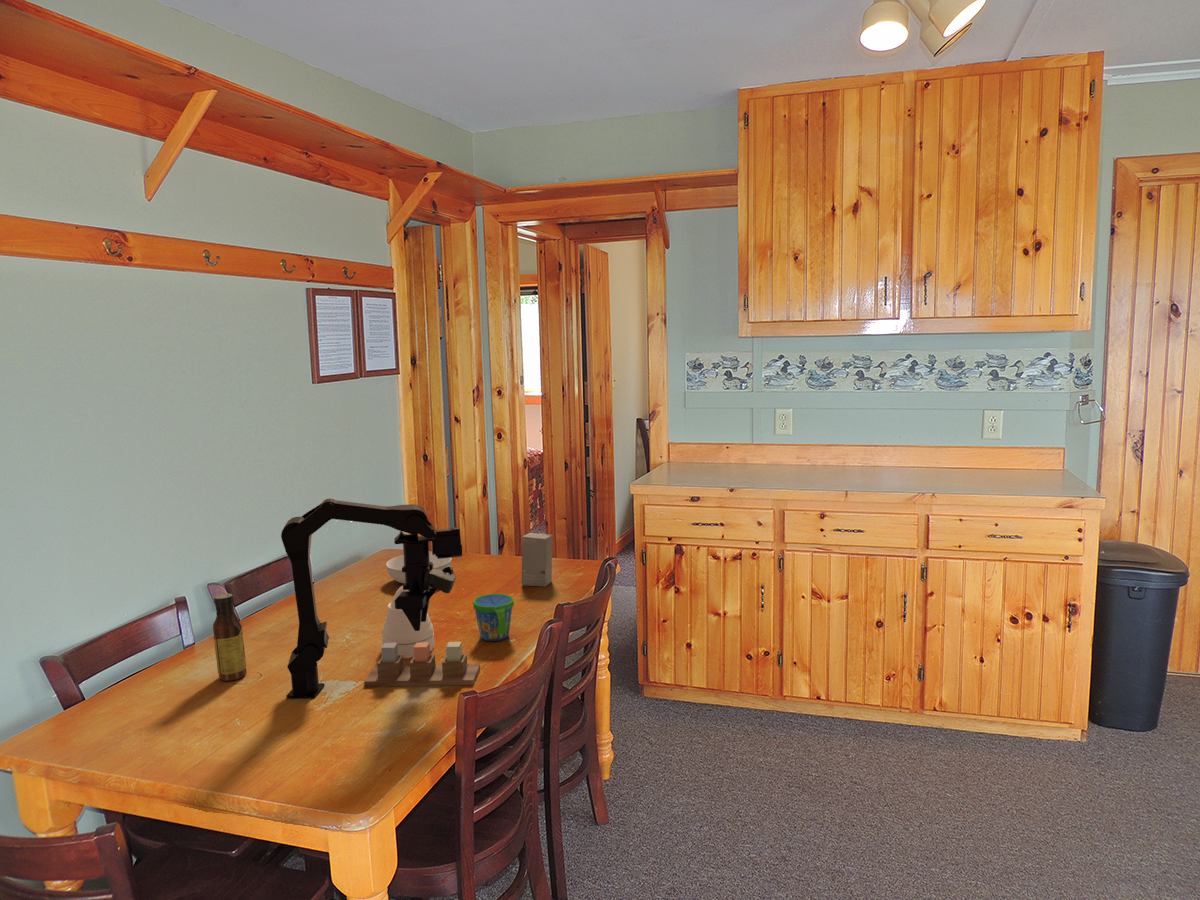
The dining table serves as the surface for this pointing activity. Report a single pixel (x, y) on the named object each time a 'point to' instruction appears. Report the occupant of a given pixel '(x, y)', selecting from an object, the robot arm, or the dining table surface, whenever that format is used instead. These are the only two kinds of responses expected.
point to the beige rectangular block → (454, 651)
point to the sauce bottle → (228, 640)
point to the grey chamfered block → (389, 652)
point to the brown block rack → (423, 673)
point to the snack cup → (493, 616)
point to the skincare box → (536, 559)
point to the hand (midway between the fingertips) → (420, 626)
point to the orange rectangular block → (422, 652)
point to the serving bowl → (397, 563)
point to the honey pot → (405, 630)
